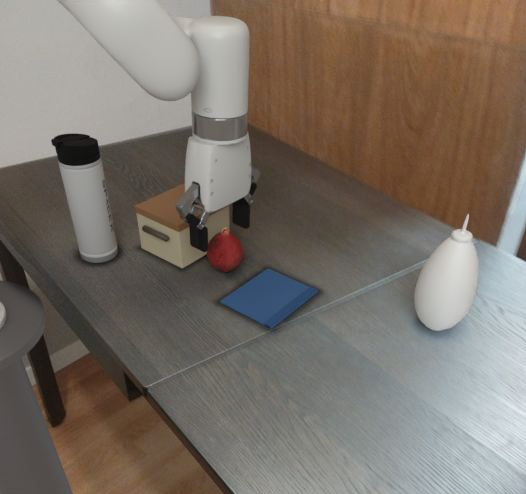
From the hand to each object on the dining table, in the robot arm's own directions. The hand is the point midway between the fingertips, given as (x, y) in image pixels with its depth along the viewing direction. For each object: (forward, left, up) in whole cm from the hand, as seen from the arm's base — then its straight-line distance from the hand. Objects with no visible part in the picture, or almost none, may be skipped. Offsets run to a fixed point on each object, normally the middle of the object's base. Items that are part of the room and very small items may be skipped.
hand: (220, 236), depth 84 cm
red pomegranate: (0, 0, -7) cm, 7 cm away
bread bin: (+3, +11, -7) cm, 13 cm away
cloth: (0, -10, -7) cm, 12 cm away
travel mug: (-9, +20, -7) cm, 23 cm away
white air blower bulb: (+10, -33, -7) cm, 35 cm away
